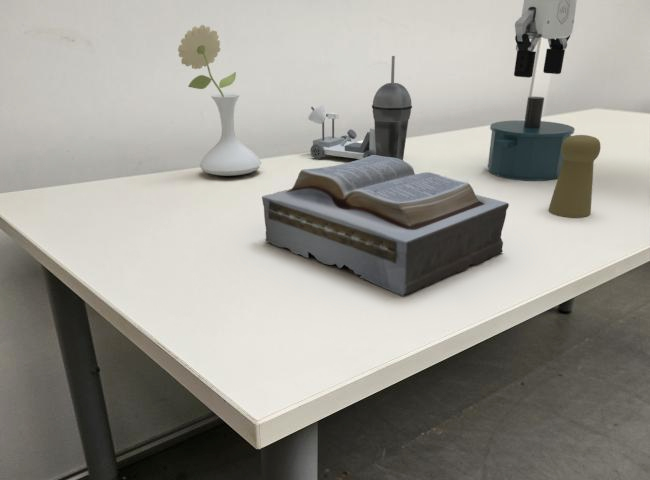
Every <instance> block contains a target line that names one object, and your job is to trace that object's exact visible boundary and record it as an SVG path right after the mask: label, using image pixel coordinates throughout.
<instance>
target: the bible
mask: <svg viewBox="0 0 650 480" xmlns="http://www.w3.org/2000/svg"><path fill="white" fill-rule="evenodd" d="M261 200H262V206H263V215H264V225H265V242H267V243H270V244H271V245H272V246H273V245H274V246H276V247H279V248H286V249H288V250H290V253H293V254H294V255H296V256H298V255H301V256H302V257H304V258H307V259H309V254H311V256H313V257H314V258H315V259H316V260H317V261H318V262H319V263H322V264H324V265H327V266H328V265H329V266H333V265H336V267H337V268H338V269H342V268H343V267H344V266H345V267H346V268H348V269H349V270H352V271H353V273H354V274H355V275H358V276H359V278H361V279H363V280H366V281H368V282H370V283H371V284H373V285H376V286H378V287H380V288H383V289H385V290H387V291H390V292H393V293H394V294H396V295H398V296H401V297H403V298H404V297H405V295H406V294H407V295H408V294H411V293H412V292H416V291H417V290H420V289H422V288H423V287H425V286H429V285H433V284H436V283H437V282H438V281H440V280H443V279H445V278H446V277H448V276H452V275H454V274H456V273H460V272H465V271H467V270H469V266H471V265H477V264H482V263H483V262H484V261H486V260H489V259H492V257H494V256H496V255H498V254H500V253H502V252H504V251H503V246H504V241H503V239H502V231H503V228H504V225H505V221H506V217H507V210H508V209H509V206H510V203H508V202H506V201H502V200H499V199H495V198H491V197H486V196H483V195H479V194H476V193H475V191H474V189H473V186H472V185H471V184H470V183H469V182H467V181H462V180H458V179H457V180H456V179H453V178H450V177H447V176H444V175H440V174H437V173H435V172H426V171H425V172H420V173H415V170H414V168H413V166H412V165H411V164H410V163H409V162H407V161H405V160H404V159H403V160H400V159H397V158H392V157H383V156H377V155H371V156H369V157H366V158H362V159H356V160H353V161H350V162H346V163H345V162H344V163H340V164H335V165H330V166H323V167H316V168H315V167H314V168H304V169H301V170H300V172H299V173H298V175H297V179H296V180H295V182H294V184H293V186H292V188H288V189H284V190H281V191H277V192H273V193H268V194H265V195H263V196H261Z"/></svg>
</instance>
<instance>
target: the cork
mask: <svg viewBox="0 0 650 480" xmlns="http://www.w3.org/2000/svg"><path fill="white" fill-rule="evenodd" d="M561 152H562V156H563V158H564V160H563V164H562V167H561V170H560V173H559V177H558V178H557V179H556V183H555V186H554V189H553V193H552V196H551V198H550V199H551V200H550V202H549V205H548V210H547V211H548V212H549V213H551V214H553V215H556V216H559V217H565V218H585V217H589V216H590V215H591V214H592V196H593V195H592V194H593V179H594V164H595V163H594V161H595V160H596V159H597V158H598V157H599V155H600V153H601V142H600V139H599V138H597V137H596V136H592V135H587V134H573V135H571V136H569V137H567V138H566V139H565V140H564V142H563V144H562V149H561Z"/></svg>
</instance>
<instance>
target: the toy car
mask: <svg viewBox="0 0 650 480" xmlns="http://www.w3.org/2000/svg"><path fill="white" fill-rule="evenodd" d="M310 109H311V110H312V111H311V112H310V113H309V115H308V116H307V119H308V120H309V121H311V122H313V123H315V124H319V125H321V133H322V134H321V136H322V137H321V138H317V139H314V140H312V145H311V147H310V149H309V150H310V151H309V152H310V155H311V157H312V158H313V159H315V160H320V159H322V158H323V157H324V156H332V157H342V158H349V159H356V160H359V159H362V158H366V157H369V156H371V155H376V143H375V126H374V127H370V128H369V131H367V132H366V134H365V135H364V138H363V139H361V140H358V141H352V140H355V139H356V138H358V137H357V136H358V135H357V133H356V131H355V130H354V129H351V128H350V129H349V130H347V132H346V134H347V135H341V136H340V137H339V136H335V120H338V119H339V118H340V117H339V116H340V115H339V113H337V112H328V113H326V112H325V107H324V105H319V106H318V107H316V108H314V106H311V107H310ZM326 118H327V119H331V135H330V136H329V135H328V136H325V121H326Z"/></svg>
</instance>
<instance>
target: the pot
mask: <svg viewBox="0 0 650 480" xmlns="http://www.w3.org/2000/svg"><path fill="white" fill-rule="evenodd" d="M569 136H572V134H571V135H568V136H562V137H547V138H538V137H520V136H511V135H505V134H500V133H496V132H494V131H492V130H491V136H490V143H489V144H490V145H489V152H488V159H487V162H488V163H487V171H488V172H489V173H490V174H492V175H494V176H497V177H500V178H505V179H511V180H518V181H532V182H533V181H535V182H536V181H537V182H538V181H539V182H540V181H550V180H551V181H552V180H558V177H559V173H560V170H561V167H562V164H563V160H564V158H563V156H562V152H561V149H562V144H563V142H564V140H565V139H566V138H567V137H569Z"/></svg>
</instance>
